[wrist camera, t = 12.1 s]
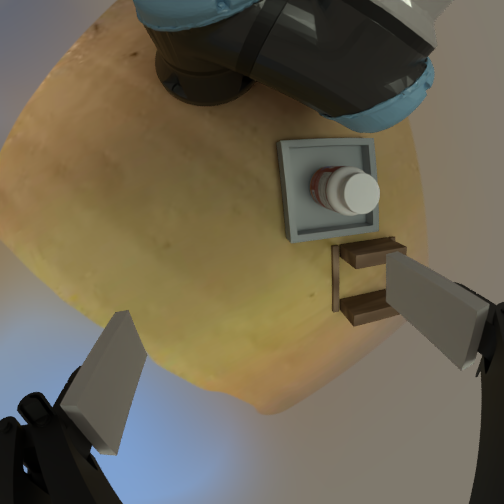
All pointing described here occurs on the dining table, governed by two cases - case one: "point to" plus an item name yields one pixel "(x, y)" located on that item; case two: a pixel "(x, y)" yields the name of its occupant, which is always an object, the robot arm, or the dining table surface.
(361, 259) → the wooden open frame
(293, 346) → the dining table surface
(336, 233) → the tray
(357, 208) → the pill bottle
